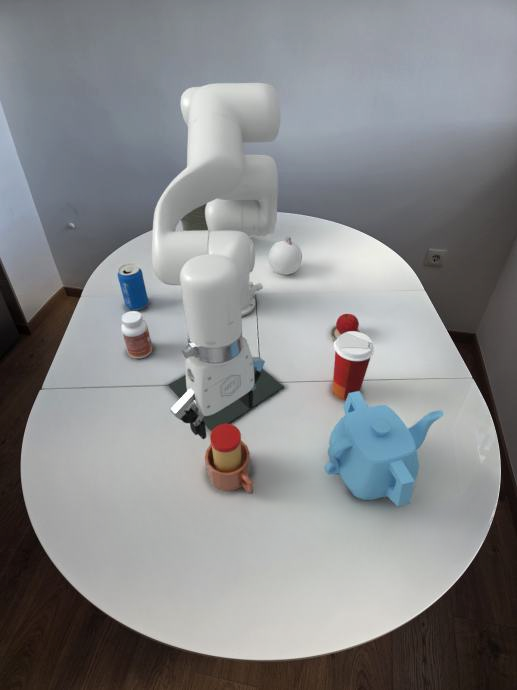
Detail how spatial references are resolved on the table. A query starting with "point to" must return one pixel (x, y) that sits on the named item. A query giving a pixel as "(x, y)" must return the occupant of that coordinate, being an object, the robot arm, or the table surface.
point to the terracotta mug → (233, 478)
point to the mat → (263, 391)
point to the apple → (344, 325)
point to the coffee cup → (350, 362)
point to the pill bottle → (136, 335)
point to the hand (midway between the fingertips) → (223, 417)
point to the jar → (226, 448)
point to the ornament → (285, 257)
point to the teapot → (376, 450)
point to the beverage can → (132, 286)
